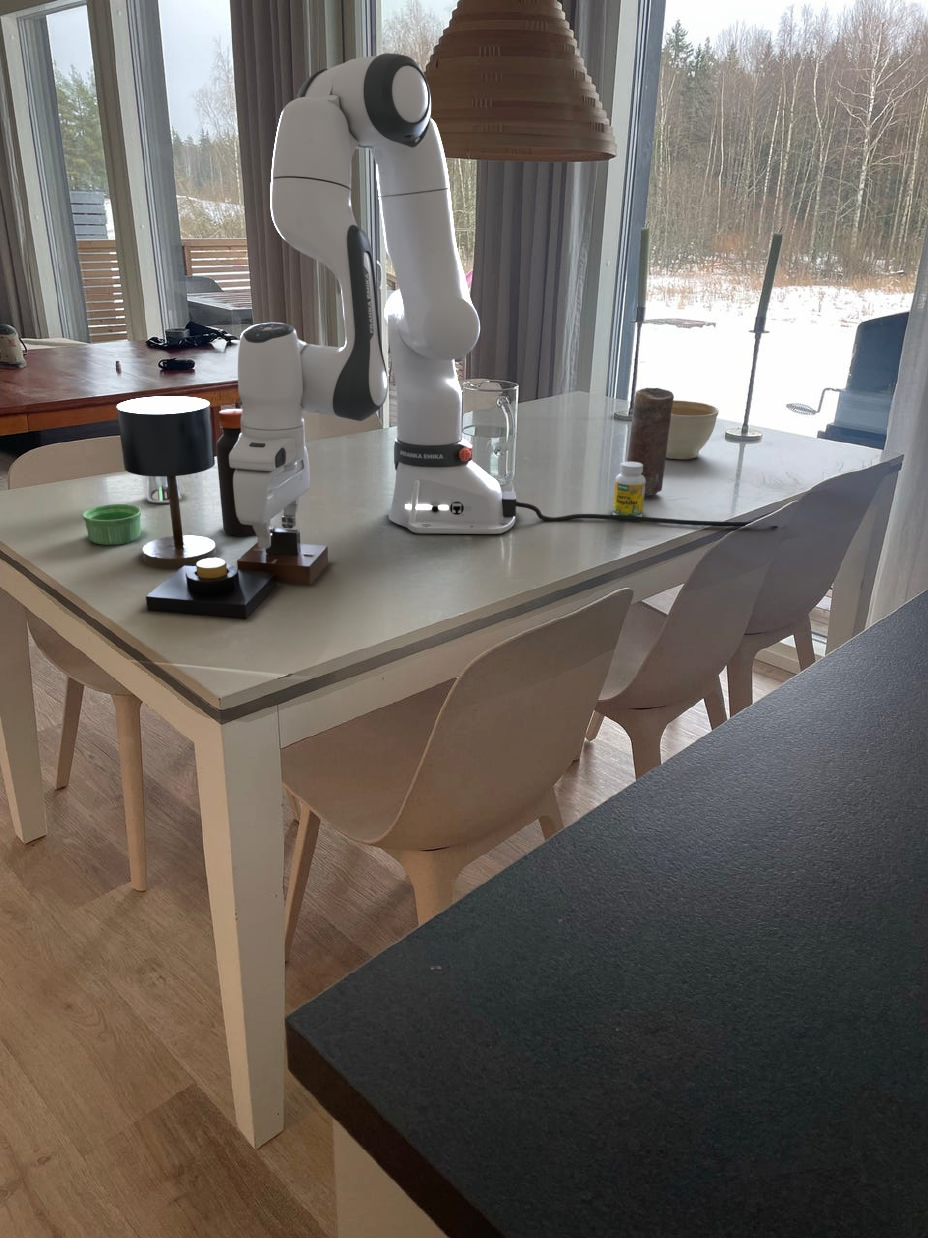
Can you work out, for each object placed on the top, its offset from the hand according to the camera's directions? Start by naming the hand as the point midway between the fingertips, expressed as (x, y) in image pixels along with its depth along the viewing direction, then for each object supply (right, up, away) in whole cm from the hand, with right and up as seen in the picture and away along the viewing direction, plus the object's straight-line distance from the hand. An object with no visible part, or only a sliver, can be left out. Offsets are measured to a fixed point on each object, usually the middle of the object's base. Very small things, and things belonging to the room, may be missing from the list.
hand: (277, 536), depth 138 cm
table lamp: (-17, -2, +8) cm, 19 cm away
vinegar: (-10, +3, +20) cm, 22 cm away
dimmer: (+1, -5, +2) cm, 6 cm away
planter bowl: (+76, +25, +74) cm, 109 cm away
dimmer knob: (+1, -2, +1) cm, 3 cm away
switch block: (-7, -9, -8) cm, 14 cm away
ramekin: (-30, +1, +15) cm, 33 cm away
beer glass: (-28, +10, +35) cm, 46 cm away
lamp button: (-7, -6, -9) cm, 13 cm away
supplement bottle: (+57, +6, +32) cm, 66 cm away
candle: (+63, +12, +45) cm, 78 cm away
